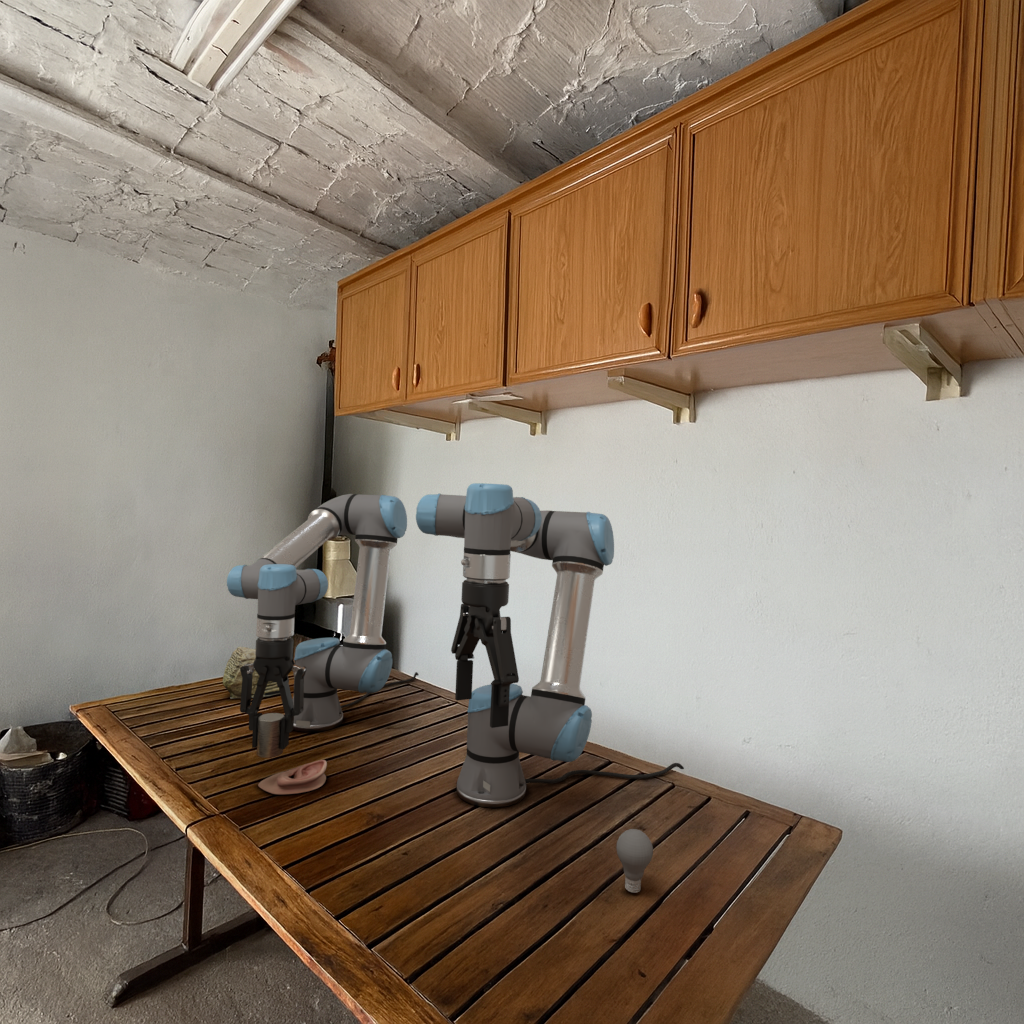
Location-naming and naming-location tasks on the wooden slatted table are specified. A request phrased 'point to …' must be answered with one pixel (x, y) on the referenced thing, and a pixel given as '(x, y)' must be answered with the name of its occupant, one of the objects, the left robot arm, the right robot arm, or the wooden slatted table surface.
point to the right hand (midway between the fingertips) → (480, 712)
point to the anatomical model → (296, 779)
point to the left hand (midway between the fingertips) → (270, 745)
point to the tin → (269, 735)
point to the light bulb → (634, 857)
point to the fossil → (234, 677)
